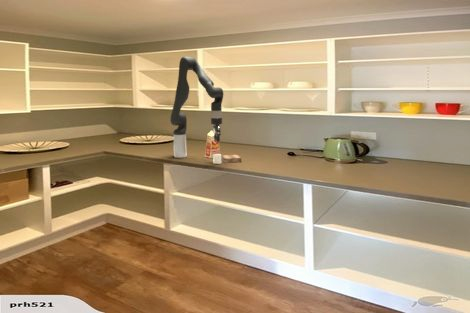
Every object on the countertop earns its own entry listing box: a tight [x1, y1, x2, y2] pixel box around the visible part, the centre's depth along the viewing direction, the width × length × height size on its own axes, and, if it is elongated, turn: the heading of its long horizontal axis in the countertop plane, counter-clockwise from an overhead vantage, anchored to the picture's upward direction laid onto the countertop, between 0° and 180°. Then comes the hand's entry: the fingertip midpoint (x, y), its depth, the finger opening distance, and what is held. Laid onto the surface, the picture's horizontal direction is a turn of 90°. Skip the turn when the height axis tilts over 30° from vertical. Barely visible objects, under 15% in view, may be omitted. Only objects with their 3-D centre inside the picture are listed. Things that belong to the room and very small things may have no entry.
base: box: [221, 154, 242, 164], centre depth 272 cm, size 12×12×3 cm
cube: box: [212, 153, 222, 165], centre depth 265 cm, size 5×5×6 cm
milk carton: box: [204, 130, 221, 159], centre depth 287 cm, size 9×9×20 cm
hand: (216, 140), depth 263 cm, fingers open, 8 cm apart
